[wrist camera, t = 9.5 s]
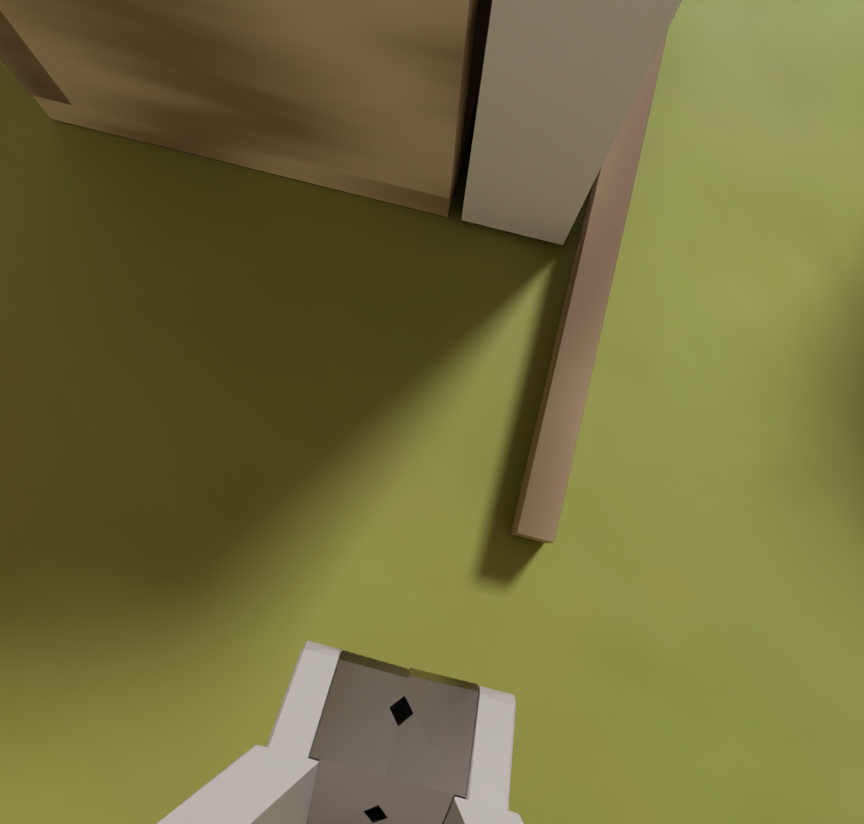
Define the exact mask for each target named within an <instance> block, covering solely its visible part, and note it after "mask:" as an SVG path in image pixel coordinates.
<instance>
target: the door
mask: <svg viewBox="0 0 864 824" xmlns="http://www.w3.org/2000/svg"><path fill="white" fill-rule="evenodd" d="M681 1H682V0H492V7H491V14H490V21H489V28H488V35H487V42H486V49H485V57H484V64H483V71H482V78H481V85H480V92H479V99H478V106H477V113H476V120H475V127H474V134H473V141H472V148H471V155H470V162H469V169H468V176H467V183H466V190H465V198H464V205H463V212H462V219H461V220H463V221H467V222H471V223H475V224H479V225H483V226H487V227H491V228H495V229H499V230H504V231H508V232H512V233H516V234H520V235H524V236H528V237H532V238H536V239H540V240H544V241H548V242H552V243H556V244H560V245H564V242H565V240H566V238H567V236H568V234H569V232H570V230H571V228H572V226H573V224H574V222H575V220H576V218H577V216H578V214H579V211H580V209H581V207H582V205H583V203H584V201H585V199H586V197H587V195H588V193H589V191H590V189H591V187H592V185H593V183H594V181H595V178H596V176H597V174H598V172H599V170H600V168H601V166H602V164H603V162H604V160H605V158H606V156H607V154H608V152H609V150H610V147H611V145H612V143H613V141H614V139H615V137H616V135H617V133H618V131H619V129H620V127H621V125H622V123H623V121H624V119H625V116H626V114H627V112H628V110H629V108H630V106H631V104H632V102H633V100H634V98H635V96H636V94H637V92H638V90H639V88H640V85H641V83H642V81H643V79H644V77H645V75H646V73H647V71H648V69H649V67H650V65H651V63H652V61H653V59H654V57H655V55H656V52H657V50H658V48H659V46H660V44H661V42H662V40H663V38H664V36H665V34H666V32H667V30H668V28H669V26H670V24H671V21H672V19H673V17H674V15H675V13H676V11H677V9H678V7H679V5H680V3H681Z"/></svg>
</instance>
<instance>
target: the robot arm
mask: <svg viewBox="0 0 864 824" xmlns="http://www.w3.org/2000/svg"><path fill="white" fill-rule="evenodd" d="M515 709H516V701H515V698H514V695H513V694H510V693H506V692H502V691H498V690H494V689H490V688H485V687H481V686H478V684H474V683H470V682H466V681H462V680H458V679H454V678H450V677H446V676H442V675H438V674H433V673H429V672H425V671H421V670H417V669H413V668H410V669H408V668H404V667H401V666H397V665H394V664H390V663H387V662H383V661H379V660H376V659H372V658H369V657H365V656H362V655H358V654H355V653H351V652H348V651H344V650H341V649H338V648H334V647H330V646H326V645H322V644H319V643H315V642H311V641H306V643H305V645H304V647H303V648H302V650H301V652H300V655H299V658H298V661H297V663H296V666H295V669H294V672H293V675H292V677H291V680H290V683H289V686H288V688H287V691H286V694H285V697H284V699H283V702H282V705H281V708H280V710H279V713H278V716H277V719H276V721H275V724H274V727H273V730H272V732H271V735H270V738H269V741H268V743H267V746H261V745H257V744H256V745H254V746H253V747H252V748H251V749H249V750H248V751H247V752H245V753H244V754H243V755H242V756H240V757H239V758H238V759H237V760H235V761H234V762H233V763H232V764H230V765H229V766H228V767H227V768H225V769H224V770H223V771H222V772H220V773H219V774H218V775H217V776H215V777H214V778H213V779H212V780H210V781H209V782H208V783H207V784H205V785H204V786H203V787H202V788H200V789H199V790H198V791H197V792H195V793H194V794H193V795H192V796H190V797H189V798H188V799H187V800H185V801H184V802H183V803H181V804H180V805H179V806H178V807H176V808H175V809H174V810H173V811H171V812H170V813H169V814H168V815H166V816H165V817H164V818H163V819H161V820H160V821H159V822H158V823H156V824H524V823H523V821H522V819H521V817H520V815H519V813H515V812H512V811H509V810H508V805H509V792H510V778H511V764H512V750H513V737H514V723H515Z"/></svg>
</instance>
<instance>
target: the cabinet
mask: <svg viewBox="0 0 864 824" xmlns="http://www.w3.org/2000/svg"><path fill="white" fill-rule="evenodd" d="M491 7H492V0H0V59H1V60H2V61H3V62H4V63H5V64H6V66H7V67H8V68H9V69H10V70H11V72H12V73H13V74H14V75H15V76H16V78H17V79H18V80H19V81H20V82H21V84H22V85H23V86H24V87H25V88H26V90H27V91H28V92H29V93H30V94H31V96H32V97H33V98H34V99H35V100H36V102H37V103H38V104H39V105H40V106H41V108H42V109H43V110H44V111H45V112H46V114H47V115H48V116H49V117H50V118H51V119H54V120H58V121H62V122H66V123H70V124H74V125H78V126H82V127H86V128H90V129H94V130H98V131H102V132H106V133H110V134H114V135H118V136H122V137H126V138H130V139H134V140H138V141H142V142H146V143H150V144H154V145H158V146H162V147H167V148H171V149H175V150H179V151H183V152H187V153H191V154H195V155H199V156H203V157H207V158H211V159H215V160H219V161H223V162H227V163H231V164H235V165H239V166H243V167H247V168H251V169H255V170H259V171H263V172H267V173H271V174H275V175H279V176H284V177H288V178H292V179H296V180H300V181H304V182H308V183H312V184H316V185H320V186H324V187H328V188H332V189H336V190H340V191H344V192H348V193H352V194H356V195H360V196H364V197H368V198H372V199H376V200H380V201H384V202H388V203H392V204H397V205H401V206H405V207H409V208H413V209H417V210H421V211H425V212H429V213H433V214H437V215H441V216H445V217H448V213H449V210H450V206H451V202H452V198H453V195H454V191H455V187H456V183H457V180H458V176H459V172H460V168H461V165H462V161H463V157H464V153H465V150H466V146H467V142H468V138H469V135H470V131H471V127H472V123H473V120H474V116H475V112H476V109H477V105H478V99H479V92H480V85H481V78H482V71H483V64H484V57H485V49H486V42H487V35H488V28H489V21H490V14H491ZM667 31H668V30H667ZM666 36H667V32H666V34H665V36H664V38H663V40H662V42H661V44H660V46H659V48H658V50H657V52H656V55H655V57H654V59H653V61H652V63H651V65H650V67H649V69H648V71H647V73H646V75H645V77H644V79H643V81H642V83H641V85H640V88H639V90H638V92H637V94H636V96H635V98H634V100H633V102H632V104H631V106H630V108H629V110H628V112H627V114H626V116H625V119H624V121H623V123H622V125H621V127H620V129H619V131H618V133H617V135H616V137H615V139H614V141H613V143H612V145H611V147H610V150H609V152H608V154H607V156H606V158H605V160H604V162H603V164H602V166H601V168H600V170H599V172H598V174H597V176H596V178H595V181H594V183H593V185H592V187H591V189H590V193H589V197H588V201H587V206H586V210H585V214H584V219H583V223H582V227H581V232H580V236H579V240H578V244H577V249H576V253H575V257H574V262H573V266H572V270H571V275H570V279H569V283H568V287H567V292H566V296H565V300H564V305H563V309H562V313H561V318H560V322H559V326H558V330H557V335H556V339H555V343H554V348H553V352H552V356H551V361H550V365H549V369H548V373H547V378H546V382H545V386H544V391H543V395H542V399H541V404H540V408H539V412H538V417H537V421H536V425H535V429H534V434H533V438H532V442H531V447H530V451H529V455H528V460H527V464H526V468H525V472H524V477H523V481H522V485H521V490H520V494H519V498H518V503H517V507H516V511H515V515H514V520H513V524H512V528H511V533H510V534H511V535H515V536H519V537H523V538H526V539H530V540H534V541H538V542H542V543H554V541H555V537H556V532H557V528H558V523H559V519H560V514H561V510H562V505H563V500H564V496H565V491H566V487H567V482H568V478H569V473H570V469H571V464H572V460H573V455H574V451H575V446H576V442H577V437H578V433H579V428H580V424H581V419H582V415H583V410H584V406H585V401H586V397H587V392H588V388H589V383H590V379H591V374H592V370H593V365H594V361H595V356H596V352H597V347H598V343H599V338H600V334H601V329H602V325H603V320H604V316H605V311H606V307H607V302H608V298H609V293H610V289H611V284H612V279H613V275H614V270H615V266H616V261H617V257H618V252H619V248H620V243H621V239H622V234H623V230H624V225H625V221H626V216H627V212H628V207H629V203H630V198H631V194H632V189H633V185H634V180H635V176H636V171H637V167H638V162H639V158H640V153H641V149H642V144H643V140H644V135H645V131H646V126H647V122H648V117H649V113H650V108H651V104H652V99H653V95H654V90H655V86H656V81H657V77H658V72H659V68H660V63H661V58H662V54H663V49H664V45H665V40H666Z"/></svg>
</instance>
